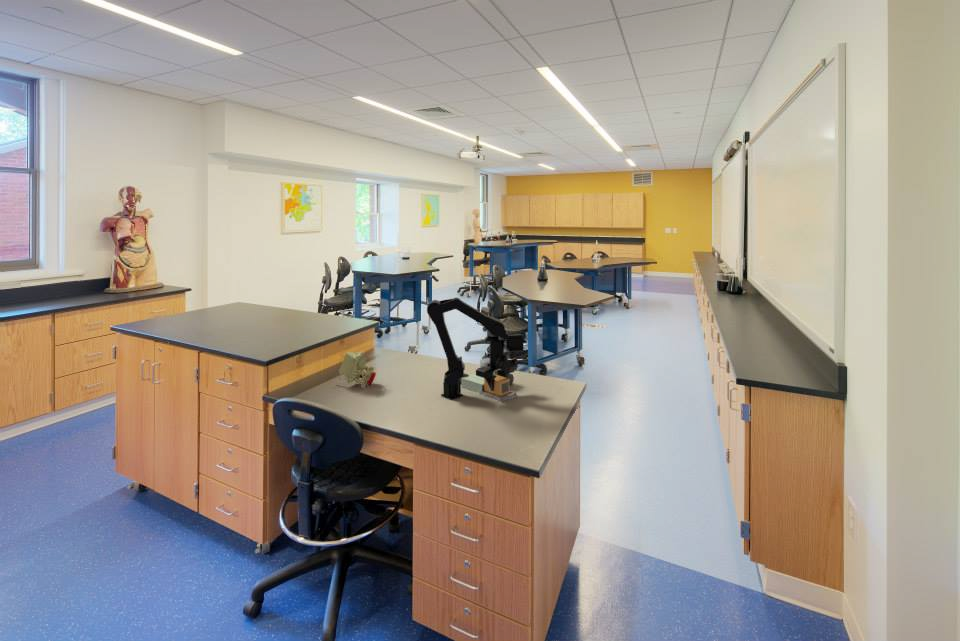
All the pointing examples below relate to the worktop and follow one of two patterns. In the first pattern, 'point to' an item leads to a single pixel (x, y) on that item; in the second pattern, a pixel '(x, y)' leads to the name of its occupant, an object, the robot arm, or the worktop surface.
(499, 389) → the tan wooden brick
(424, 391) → the worktop surface
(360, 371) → the mechanical component
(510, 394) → the bracket
